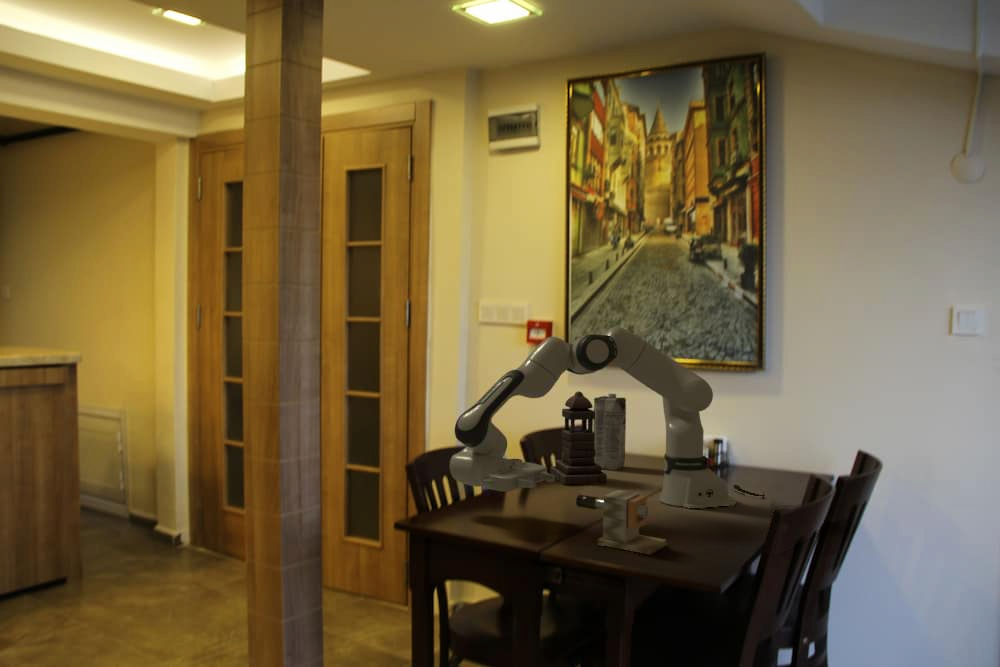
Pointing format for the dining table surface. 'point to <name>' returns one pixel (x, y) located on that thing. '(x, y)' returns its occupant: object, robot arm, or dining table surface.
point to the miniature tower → (578, 446)
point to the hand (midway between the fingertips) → (544, 481)
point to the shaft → (598, 504)
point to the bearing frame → (624, 526)
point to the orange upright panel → (635, 513)
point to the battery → (610, 431)
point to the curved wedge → (745, 491)
